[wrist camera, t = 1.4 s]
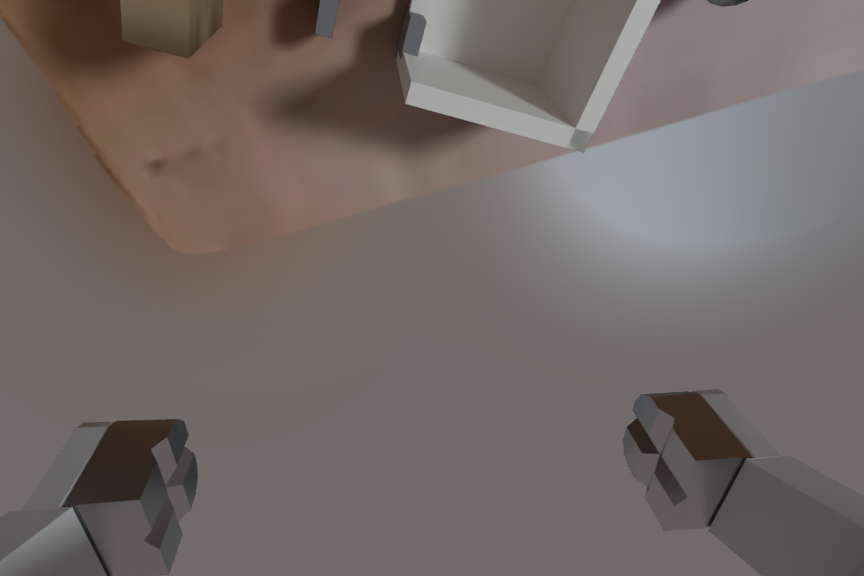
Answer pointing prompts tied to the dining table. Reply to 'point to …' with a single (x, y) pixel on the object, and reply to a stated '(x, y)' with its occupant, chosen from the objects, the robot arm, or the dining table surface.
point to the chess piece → (726, 2)
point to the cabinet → (516, 61)
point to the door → (170, 24)
